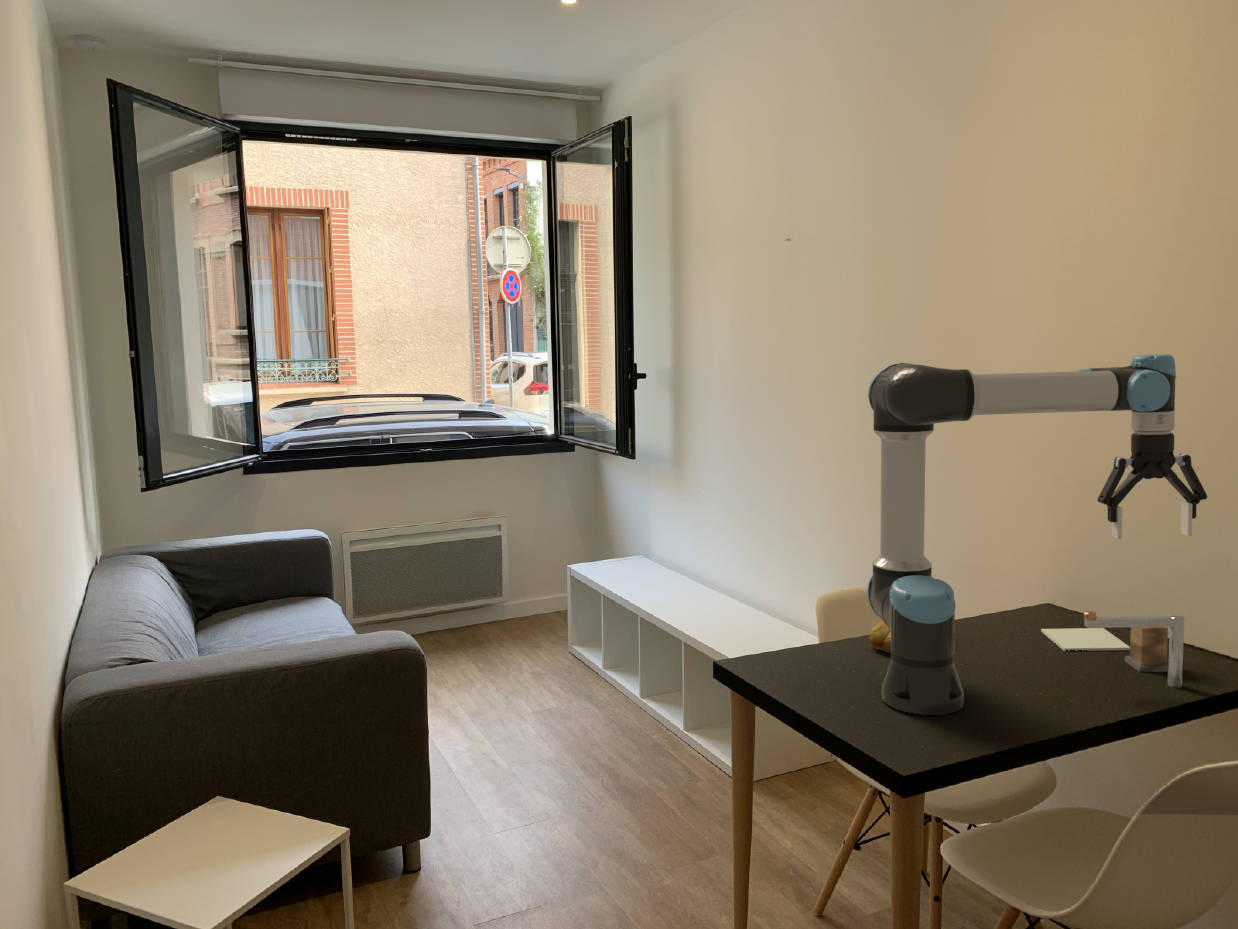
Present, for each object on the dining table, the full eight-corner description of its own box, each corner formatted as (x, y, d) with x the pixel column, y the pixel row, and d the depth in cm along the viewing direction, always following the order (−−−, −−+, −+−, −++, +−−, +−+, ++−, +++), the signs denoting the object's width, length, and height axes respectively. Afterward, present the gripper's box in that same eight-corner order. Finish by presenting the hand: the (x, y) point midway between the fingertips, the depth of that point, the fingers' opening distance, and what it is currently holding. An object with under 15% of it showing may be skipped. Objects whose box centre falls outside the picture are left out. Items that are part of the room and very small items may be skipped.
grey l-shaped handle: (1184, 687, 181) (1187, 613, 179) (1085, 688, 183) (1086, 614, 181) (1177, 683, 183) (1180, 609, 181) (1080, 684, 185) (1081, 611, 183)
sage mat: (1064, 651, 204) (1064, 648, 204) (1041, 631, 218) (1041, 629, 218) (1130, 650, 203) (1130, 647, 203) (1103, 630, 217) (1103, 628, 217)
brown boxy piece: (1139, 672, 190) (1140, 629, 189) (1124, 661, 197) (1126, 620, 195) (1171, 671, 190) (1173, 629, 188) (1156, 661, 196) (1157, 619, 195)
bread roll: (934, 654, 206) (934, 619, 205) (904, 663, 201) (903, 627, 200) (890, 640, 217) (890, 606, 216) (860, 648, 212) (860, 614, 211)
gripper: (1096, 437, 183) (1096, 543, 186) (1228, 430, 181) (1226, 537, 184) (1080, 433, 190) (1080, 535, 193) (1207, 426, 188) (1205, 529, 191)
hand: (1151, 536), depth 188 cm, fingers open, 13 cm apart
